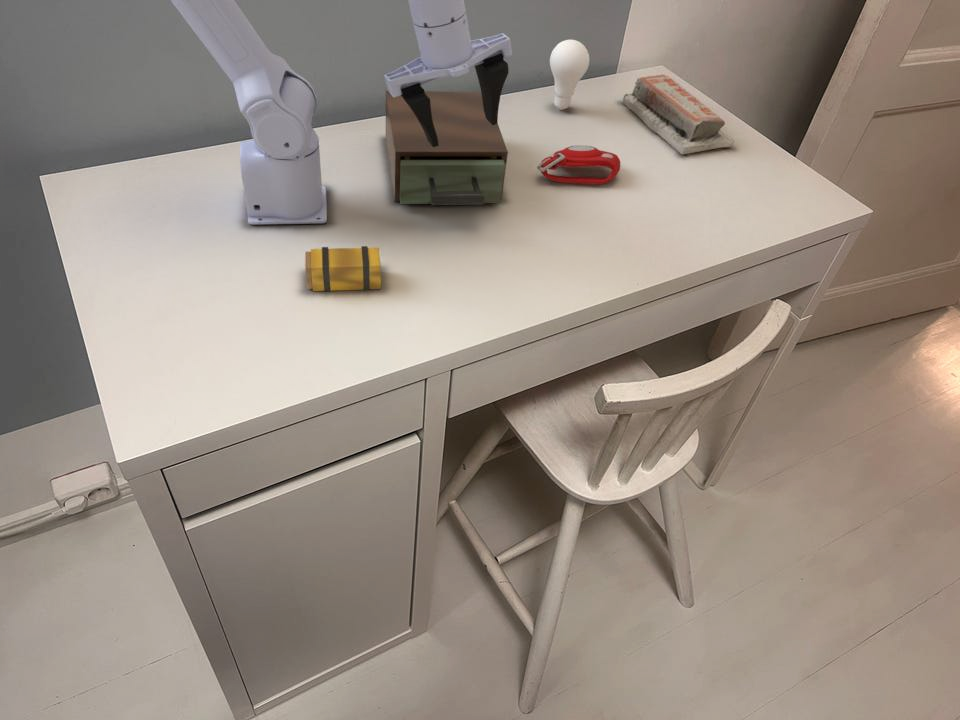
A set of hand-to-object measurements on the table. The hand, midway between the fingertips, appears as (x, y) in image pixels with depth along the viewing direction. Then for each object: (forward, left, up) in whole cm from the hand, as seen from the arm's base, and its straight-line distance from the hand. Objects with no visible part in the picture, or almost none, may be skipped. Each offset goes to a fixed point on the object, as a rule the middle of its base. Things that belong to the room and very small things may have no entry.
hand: (462, 132), depth 86 cm
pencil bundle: (-15, -13, -12) cm, 23 cm away
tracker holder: (+18, +10, -12) cm, 24 cm away
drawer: (-1, +7, -11) cm, 13 cm away
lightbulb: (+21, +29, -12) cm, 38 cm away
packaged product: (+39, +24, -12) cm, 48 cm away
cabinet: (-1, +11, -12) cm, 16 cm away
